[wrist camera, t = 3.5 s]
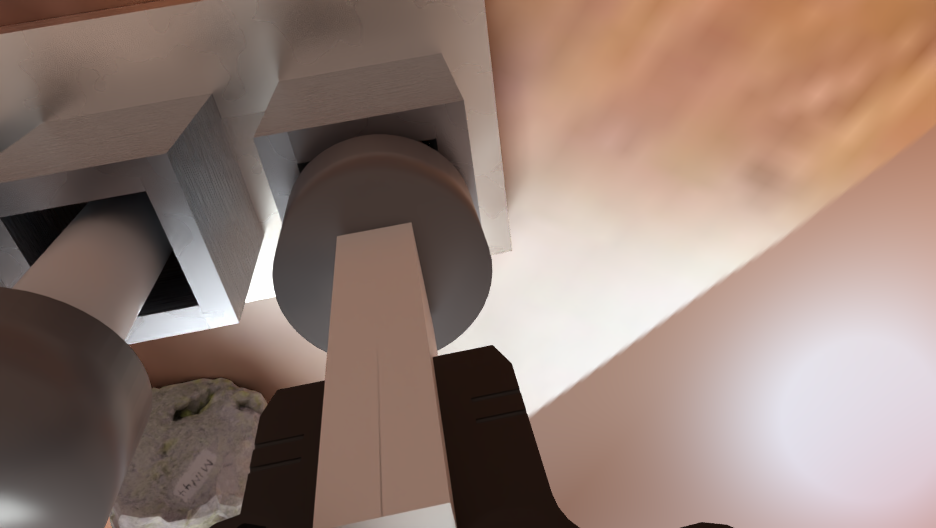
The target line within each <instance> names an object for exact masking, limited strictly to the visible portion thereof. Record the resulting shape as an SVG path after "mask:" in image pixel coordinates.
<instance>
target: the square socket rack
mask: <svg viewBox="0 0 936 528" xmlns="http://www.w3.org/2000/svg"><path fill="white" fill-rule="evenodd" d="M373 134H388V135H396V136H402V137H406V138H409V139H413V140H416V141H424V140H429V146H430V147H431V148H432V149H434V150H436V151H437V152H439V153H440V154H441V155H443V156H444V157H445V158H446V159H447V160H448V161H449V162H450V163H451V164H452V165H453V166H454V167H455V168H456V169H457V171H458V172H459V173H460V175H461V176H462V178H463V180H464V181H465V183H466V185H467V187H468V190H469V193H470V195H471V198H472V201H473V204H474V206H475V209H476V212H477V215H478V218H479V221H480V224H481V226H482V229H483V232H484V235H485V238H486V241H487V244H488V246H489V250H490V255H494V254H499V253H504V252H509V251H512V245H511V236H510V227H509V218H508V209H507V200H506V191H505V182H504V173H503V164H502V155H501V146H500V137H499V128H498V119H497V110H496V101H495V92H494V83H493V74H492V65H491V56H490V47H489V38H488V29H487V20H486V11H485V2H484V0H159V1H153V2H147V3H141V4H135V5H129V6H123V7H117V8H111V9H105V10H99V11H93V12H87V13H81V14H75V15H69V16H63V17H56V18H50V19H44V20H38V21H32V22H26V23H20V24H14V25H8V26H2V27H0V287H6V288H13V286H14V285H15V284H16V283H17V282H18V281H19V280H20V279H21V277H22V276H23V275H24V274H25V273H26V272H27V271H28V270H29V268H30V267H31V266H32V265H33V264H34V263H35V262H36V261H37V259H38V258H39V257H40V256H41V255H42V254H43V253H44V252H45V251H46V249H47V248H48V247H49V246H50V245H51V244H52V243H53V242H54V240H55V239H56V238H57V237H58V236H59V235H60V234H61V233H62V231H63V230H64V229H65V228H66V227H67V226H68V225H69V224H70V222H71V221H72V220H73V219H74V218H75V217H76V216H77V215H78V214H79V212H80V211H81V210H82V209H83V208H84V207H85V206H86V205H87V203H88V202H89V201H93V200H99V199H104V198H110V197H116V196H121V195H127V194H132V193H138V192H143V191H146V192H147V195H148V197H149V199H150V201H151V203H152V205H153V208H154V210H155V212H156V214H157V216H158V218H159V220H160V223H161V225H162V227H163V229H164V231H165V233H166V235H167V238H168V240H169V242H170V244H171V246H172V248H173V251H172V253H171V254H170V256H169V258H168V260H167V262H166V264H165V266H164V267H163V269H162V271H161V273H160V275H159V277H158V279H157V281H156V282H155V284H154V286H153V288H152V290H151V292H150V294H149V295H148V297H147V299H146V301H145V303H144V305H143V307H142V308H141V310H140V312H139V314H138V316H137V318H136V320H135V322H134V323H133V325H132V327H131V329H130V331H129V333H128V335H127V336H126V338H125V340H124V341H125V342H126V343H127V344H128V345H129V344H134V343H139V342H144V341H149V340H154V339H159V338H165V337H170V336H175V335H180V334H185V333H190V332H195V331H201V330H206V329H211V328H216V327H221V326H226V325H231V324H237V323H239V321H240V318H241V315H242V311H243V308H244V304H245V302H250V301H255V300H260V299H265V298H270V297H276V295H275V292H274V288H273V280H272V269H273V260H274V255H275V251H276V247H277V243H278V239H279V235H280V231H281V227H282V223H283V219H284V215H285V211H286V207H287V203H288V198H289V195H290V193H291V190H292V187H293V185H294V183H295V181H296V180H297V178H298V176H299V175H300V173H301V172H302V171H303V169H304V168H305V167H306V166H307V165H308V164H309V163H310V162H311V161H312V160H313V159H314V158H315V157H316V156H317V155H319V154H320V153H321V152H323V151H324V150H326V149H328V148H329V147H331V146H333V145H335V144H337V143H339V142H342V141H345V140H347V139H350V138H354V137H359V136H364V135H373Z"/></svg>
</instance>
